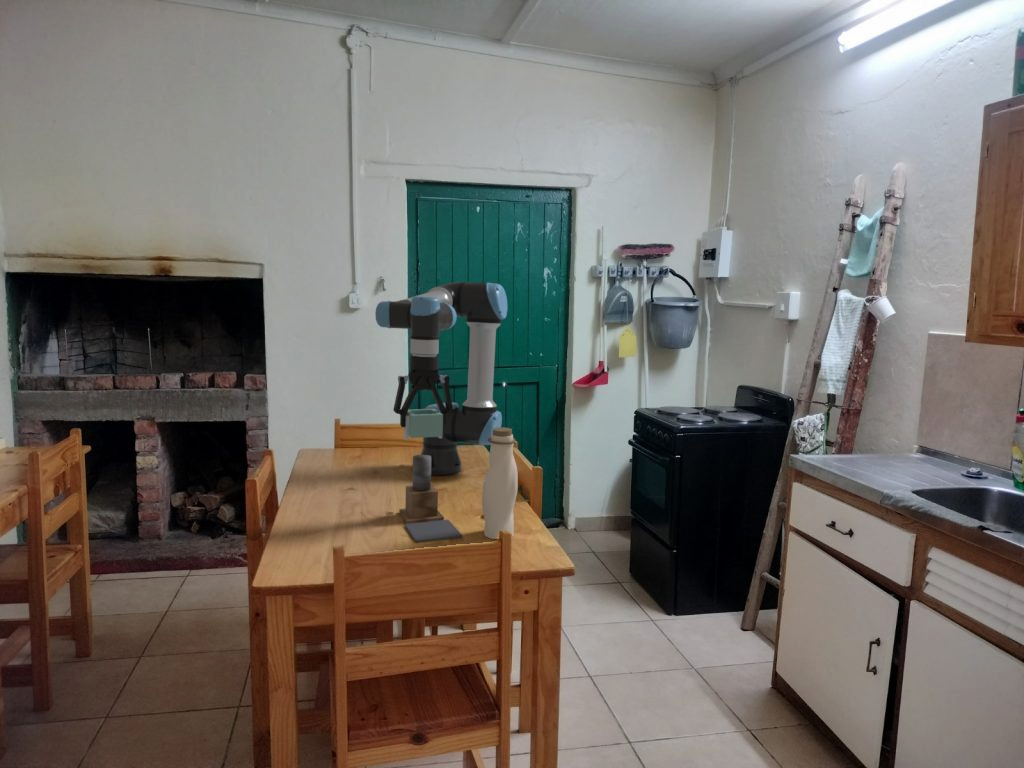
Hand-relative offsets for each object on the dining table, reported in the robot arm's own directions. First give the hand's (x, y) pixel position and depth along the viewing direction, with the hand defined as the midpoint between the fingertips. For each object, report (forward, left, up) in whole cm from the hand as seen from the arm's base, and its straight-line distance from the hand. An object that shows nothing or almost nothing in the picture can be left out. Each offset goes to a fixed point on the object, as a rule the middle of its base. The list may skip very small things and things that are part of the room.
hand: (422, 437), depth 184 cm
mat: (0, +11, -23) cm, 25 cm away
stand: (0, -1, -23) cm, 23 cm away
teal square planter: (0, 0, +1) cm, 1 cm away
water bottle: (-16, +17, -23) cm, 33 cm away
